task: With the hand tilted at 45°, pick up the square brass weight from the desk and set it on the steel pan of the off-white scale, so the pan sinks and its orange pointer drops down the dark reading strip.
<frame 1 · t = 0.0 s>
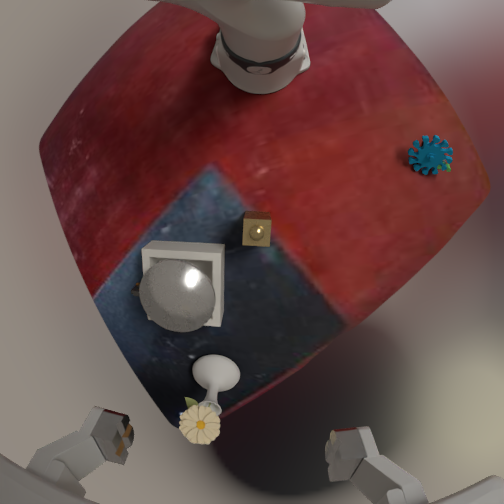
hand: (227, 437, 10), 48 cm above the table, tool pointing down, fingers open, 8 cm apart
flower in vase: (215, 366, 66), on the table
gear: (422, 156, 51), on the table
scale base: (188, 277, 59), on the table
scale pan: (174, 291, 53), point 7 cm above the table, slide at 0.0 cm
brass weight: (256, 223, 56), on the table
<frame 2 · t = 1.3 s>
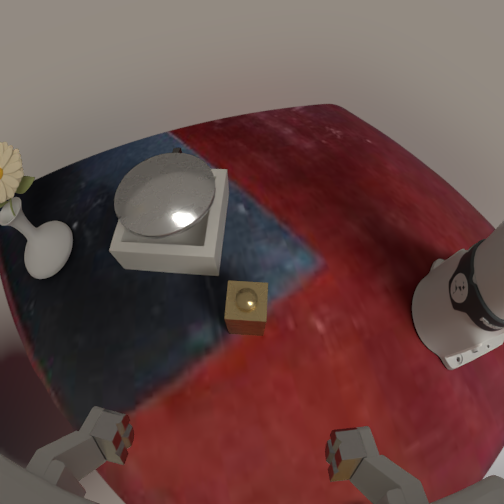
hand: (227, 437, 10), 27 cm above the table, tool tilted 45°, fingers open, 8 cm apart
flower in vase: (56, 252, 44), on the table
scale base: (177, 229, 46), on the table
scale pan: (168, 196, 40), point 7 cm above the table, slide at 0.0 cm
brass weight: (247, 318, 39), on the table
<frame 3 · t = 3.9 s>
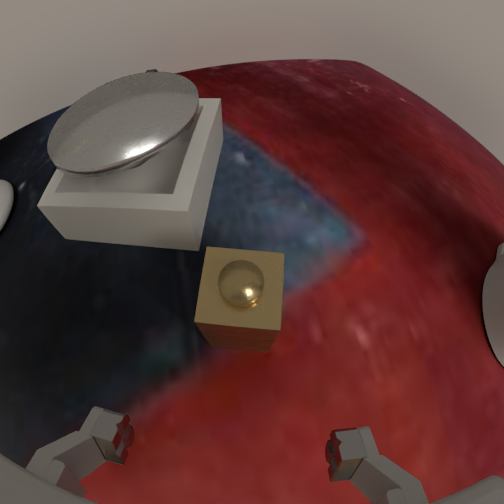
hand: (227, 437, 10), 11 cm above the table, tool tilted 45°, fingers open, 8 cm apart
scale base: (144, 183, 29), on the table
scale pan: (130, 126, 24), point 7 cm above the table, slide at 0.0 cm
brass weight: (242, 322, 23), on the table
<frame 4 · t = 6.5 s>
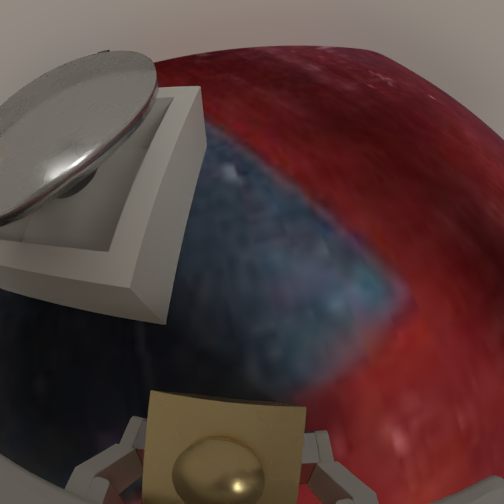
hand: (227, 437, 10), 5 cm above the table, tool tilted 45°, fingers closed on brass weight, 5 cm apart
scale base: (96, 213, 20), on the table
scale pan: (63, 134, 14), point 7 cm above the table, slide at 0.0 cm
brass weight: (232, 436, 13), on the table, touching gripper
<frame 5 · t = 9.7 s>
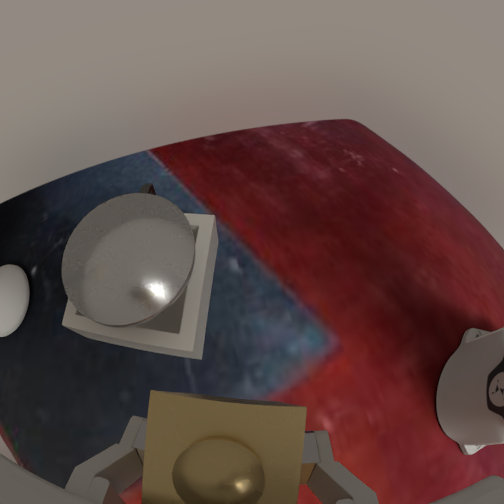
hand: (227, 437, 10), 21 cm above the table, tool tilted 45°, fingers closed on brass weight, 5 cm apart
flower in vase: (14, 302, 32), on the table
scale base: (150, 290, 34), on the table
scale pan: (133, 255, 28), point 7 cm above the table, slide at 0.0 cm
brass weight: (232, 436, 13), point 16 cm above the table, touching gripper
when the fingers open (16 cm above the table, at t = 13.4 s): brass weight drops 3 cm, resting on scale pan.
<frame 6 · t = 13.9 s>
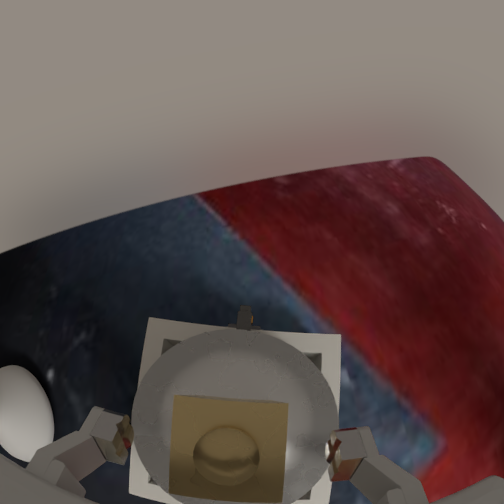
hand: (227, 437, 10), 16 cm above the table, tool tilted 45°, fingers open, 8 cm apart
flower in vase: (31, 413, 21), on the table
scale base: (236, 419, 23), on the table
scale pan: (236, 413, 19), point 5 cm above the table, slide at -2.1 cm, touching brass weight
brass weight: (234, 430, 16), point 8 cm above the table, touching scale pan
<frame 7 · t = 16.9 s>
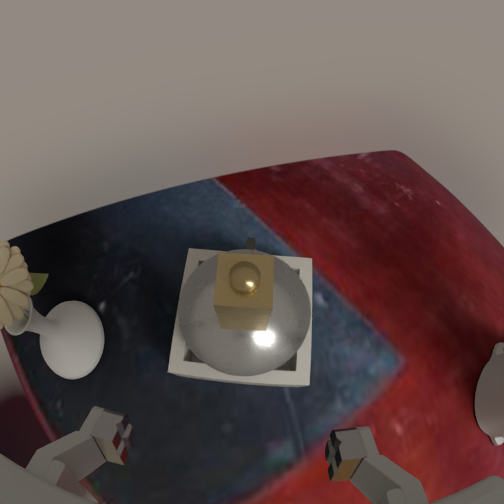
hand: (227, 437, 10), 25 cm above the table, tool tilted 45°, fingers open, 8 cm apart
flower in vase: (81, 340, 35), on the table
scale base: (244, 326, 37), on the table
scale pan: (245, 307, 33), point 5 cm above the table, slide at -2.1 cm, touching brass weight
brass weight: (244, 309, 30), point 8 cm above the table, touching scale pan
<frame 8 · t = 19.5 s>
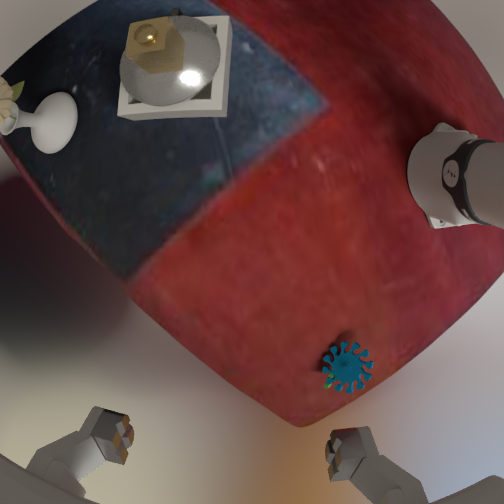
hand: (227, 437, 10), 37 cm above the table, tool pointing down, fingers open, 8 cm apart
flower in vase: (62, 120, 40), on the table
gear: (340, 356, 52), on the table
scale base: (181, 73, 38), on the table
scale pan: (173, 57, 33), point 5 cm above the table, slide at -2.1 cm, touching brass weight
brass weight: (167, 57, 30), point 8 cm above the table, touching scale pan
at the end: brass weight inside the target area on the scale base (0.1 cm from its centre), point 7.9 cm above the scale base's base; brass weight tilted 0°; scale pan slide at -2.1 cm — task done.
